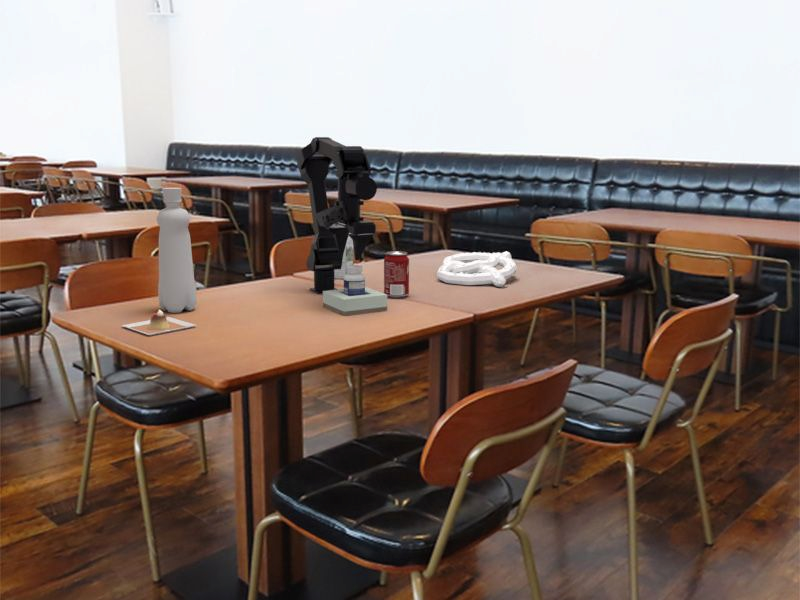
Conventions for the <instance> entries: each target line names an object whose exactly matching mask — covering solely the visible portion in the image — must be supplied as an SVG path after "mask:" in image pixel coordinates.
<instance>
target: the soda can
mask: <svg viewBox="0 0 800 600" xmlns="http://www.w3.org/2000/svg"><path fill="white" fill-rule="evenodd" d="M383 260H384V261H383V293H384V294H387V298H391V299H403V298H405V297H406V296H409V294H410V258H409V257H408V252H406V251H401V250H400V251H399V250H397V251H396V250H395V251H393V250H392V251H387V252H386V253H385V257H384V258H383Z"/></svg>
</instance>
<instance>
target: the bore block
mask: <svg viewBox="0 0 800 600" xmlns="http://www.w3.org/2000/svg"><path fill="white" fill-rule="evenodd" d="M337 289H338V288H337ZM322 307H323V308H325V307H326V309H328V310H330V311H333V312H335V313H337V314H339V315H342V316H344V317H346V316H352V315H353V316H354V315H360V314H361V315H362V314H369V313H378V312H386V311H385V310H387V311H388V297H387V294H384V292H380V291H377V290H374V289H372V288H369V287H367V286H365V295H356V296H347V295H345V294H344V288H342V289H341V288H340V289H338V290H329V291H323V293H322Z"/></svg>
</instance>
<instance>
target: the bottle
mask: <svg viewBox="0 0 800 600" xmlns="http://www.w3.org/2000/svg"><path fill="white" fill-rule="evenodd" d="M182 189H183V187H162V188H161V190H162V197H163V201H162V202H163V203H164V204H165V205H166V207H164V208H163V209H161V210H158V214H157V216H156V222H157V225H158V227H159V233H158V284H157V285H158V286H157V292H158V293H157V294H158V295H157V296H158V306H159V307H160V308H161V311H162V312H163V311H167V312H168V313H170V314H179V313H182V311H183V310H185V311H189V312H190V311H193V310H194V309H195V307H196V305H197V303H198V301H197V284H196V281H195V275H194V274H195V273H194V263H193V262H194V261H193V254H192V252H193V251H192V243H191V235H190V234H191V233H190V231H189V225H190V222H191V216H190V213H188V210H186V209H184V208H182V207H180V204H181V202H183V201H182V191H183V190H182Z"/></svg>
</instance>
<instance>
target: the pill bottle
mask: <svg viewBox="0 0 800 600" xmlns="http://www.w3.org/2000/svg"><path fill="white" fill-rule="evenodd" d="M346 272H347V274H346V275H345V276H344V279H343V289H344V294H345V295H347V296H356V295H365V287H366V276H365V275H364V274H362V273H363V266H362V265H357V264H353V265H350V266H347V267H346Z"/></svg>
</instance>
